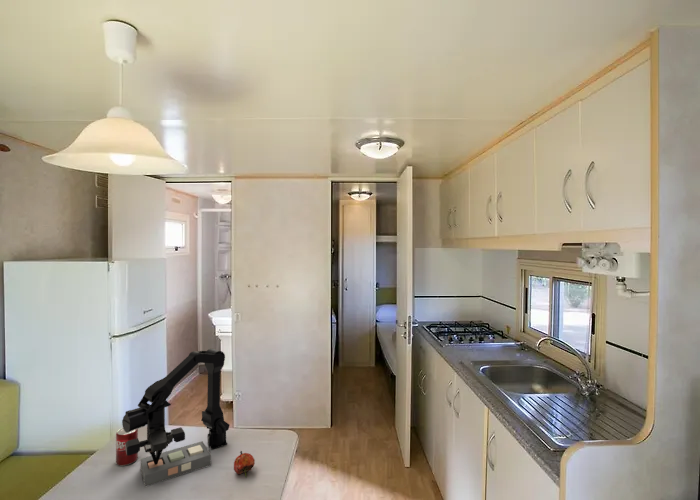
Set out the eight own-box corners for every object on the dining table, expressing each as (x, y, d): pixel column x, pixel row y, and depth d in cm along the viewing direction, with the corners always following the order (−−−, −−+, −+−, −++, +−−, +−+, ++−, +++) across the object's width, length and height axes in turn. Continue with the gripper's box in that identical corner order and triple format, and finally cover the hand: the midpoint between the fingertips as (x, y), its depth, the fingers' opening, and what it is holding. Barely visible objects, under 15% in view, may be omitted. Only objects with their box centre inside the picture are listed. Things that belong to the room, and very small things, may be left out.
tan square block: (161, 464, 139) (161, 458, 139) (163, 470, 135) (163, 464, 135) (147, 468, 136) (147, 463, 136) (149, 474, 133) (149, 469, 132)
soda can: (127, 468, 139) (127, 435, 139) (111, 465, 141) (111, 433, 140) (142, 457, 146) (142, 426, 146) (126, 455, 148) (126, 424, 148)
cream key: (200, 449, 147) (200, 444, 147) (203, 455, 143) (203, 450, 143) (187, 453, 144) (187, 448, 144) (190, 459, 140) (190, 453, 140)
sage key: (181, 455, 143) (181, 450, 143) (184, 461, 139) (184, 455, 139) (168, 459, 140) (168, 454, 140) (170, 465, 136) (170, 459, 136)
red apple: (256, 480, 136) (253, 452, 143) (255, 471, 132) (252, 443, 139) (235, 486, 134) (233, 457, 141) (233, 477, 129) (231, 449, 137)
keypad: (202, 450, 151) (202, 441, 151) (211, 465, 141) (211, 455, 141) (140, 469, 138) (140, 458, 138) (145, 487, 128) (145, 475, 128)
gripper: (128, 438, 124) (128, 485, 124) (188, 422, 134) (188, 466, 135) (125, 424, 133) (125, 468, 133) (181, 411, 144) (181, 452, 144)
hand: (155, 463), depth 136 cm, fingers closed, pressing on tan square block
